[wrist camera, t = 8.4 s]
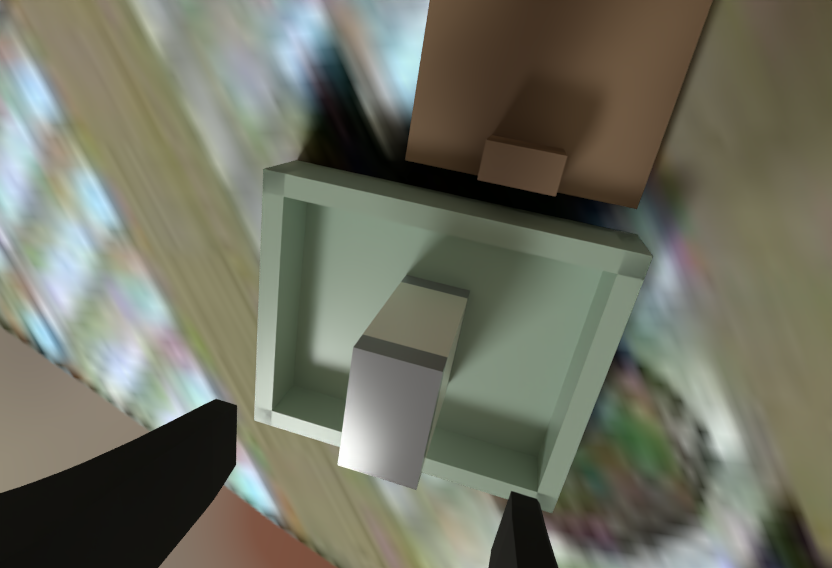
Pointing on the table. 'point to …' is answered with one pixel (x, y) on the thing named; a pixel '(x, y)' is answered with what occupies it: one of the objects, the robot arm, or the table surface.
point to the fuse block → (552, 91)
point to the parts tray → (482, 326)
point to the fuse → (401, 380)
